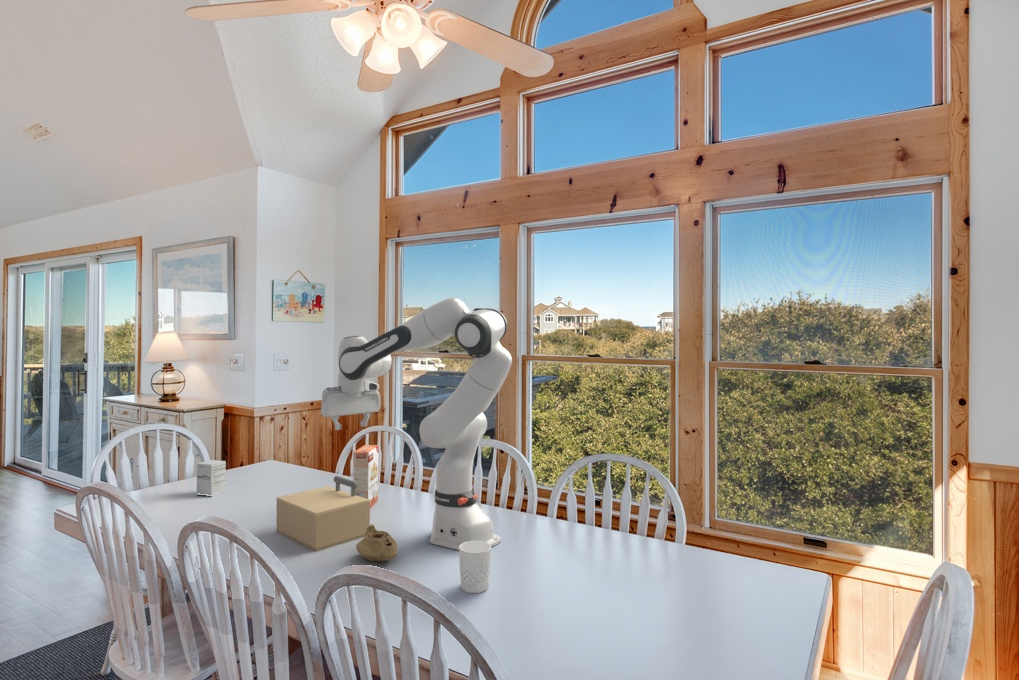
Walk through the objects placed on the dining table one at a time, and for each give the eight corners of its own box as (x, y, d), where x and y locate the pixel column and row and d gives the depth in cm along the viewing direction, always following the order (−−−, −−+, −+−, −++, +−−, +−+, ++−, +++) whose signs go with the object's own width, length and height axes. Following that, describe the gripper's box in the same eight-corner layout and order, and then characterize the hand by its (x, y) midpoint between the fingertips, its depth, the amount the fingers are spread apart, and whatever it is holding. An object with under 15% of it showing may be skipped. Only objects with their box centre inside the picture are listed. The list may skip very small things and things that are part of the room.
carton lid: (369, 502, 172) (369, 484, 172) (316, 516, 158) (316, 497, 158) (328, 488, 188) (328, 472, 188) (276, 499, 174) (276, 482, 174)
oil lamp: (380, 572, 144) (380, 542, 144) (347, 557, 154) (347, 529, 154) (413, 559, 153) (413, 530, 153) (379, 546, 162) (379, 519, 162)
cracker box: (369, 511, 195) (369, 451, 195) (352, 511, 195) (352, 451, 195) (379, 499, 209) (379, 444, 209) (363, 499, 209) (363, 444, 209)
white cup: (474, 577, 141) (474, 538, 141) (497, 586, 136) (497, 545, 136) (452, 588, 135) (452, 547, 135) (475, 597, 130) (475, 555, 130)
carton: (369, 534, 172) (369, 502, 172) (316, 551, 158) (316, 516, 158) (328, 518, 188) (328, 488, 188) (276, 531, 174) (276, 500, 174)
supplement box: (195, 495, 214) (195, 463, 214) (211, 490, 221) (211, 459, 221) (211, 497, 211) (211, 464, 211) (226, 492, 219) (226, 460, 218)
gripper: (327, 388, 171) (327, 433, 171) (383, 384, 186) (382, 425, 186) (317, 386, 175) (316, 430, 175) (372, 383, 190) (372, 423, 190)
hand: (351, 428), depth 181 cm, fingers open, 8 cm apart
